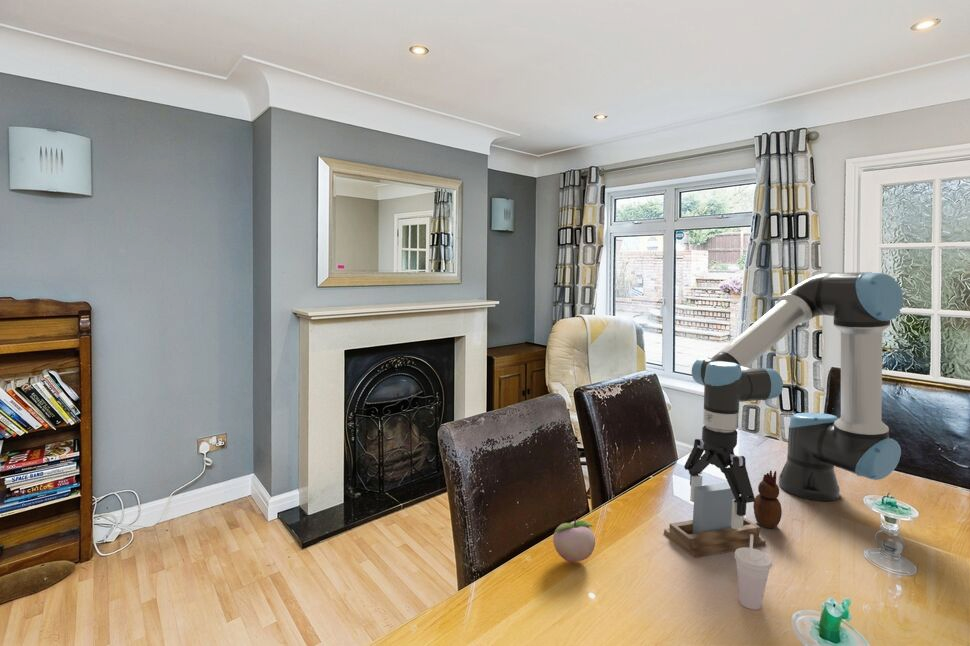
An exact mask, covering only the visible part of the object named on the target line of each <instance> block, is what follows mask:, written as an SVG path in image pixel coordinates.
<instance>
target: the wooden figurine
mask: <svg viewBox="0 0 970 646" xmlns="http://www.w3.org/2000/svg"><path fill="white" fill-rule="evenodd" d="M778 485H779V484H777V470H774V473H773V472H772V470H769V472H767V473H766V474H763V478H762V480H761V481H760V482H759V484H758V487H757V490H758V493H759V494H757V495H756V496H754V497H755V502H753V505H752V506H753V514H754V518H755V521H756V522H757V524H758V525H759V526H762V527H763V528H767V529H774V528H777V526H779V523H780V522H781V519H782V513H783V512H782V505H781V502H780V500H779V499H778V498H779V495H780V489H779V488H780V486H778Z"/></svg>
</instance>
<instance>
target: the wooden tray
mask: <svg viewBox="0 0 970 646" xmlns="http://www.w3.org/2000/svg"><path fill="white" fill-rule="evenodd" d="M760 529H761V527H760V525H757V524H756V523H754V522H753V521H751V520H750V519H748V518H746V517H744V520H743V527H742V528H736V529H733V528H726V529H720V530H714V531H708V532H703V533H697V534H692V530H693V519H690V520H683V521H676V522H673V523H672V522H671V523H669V527H668V528H664V529H663V533H664V534H665V536H668V538H669V539H671V540H673V542H674V543H676V544H677V545H678V546H680V547H681V548H682V549H684V551H685V552H687V553H688V554H689V555H691V556H692V557H693V558H700V557H707V556H711V555H716V554H722V553H723V554H724V553H729V552H734V551H736V549H738V548H743V547H747V548H749V547H750V534H753V535H754V536H753V548H754V547H755V548H756V547H760V546H764V545H765V546H766V543H767V539H764V538H762V537H761V536H760Z"/></svg>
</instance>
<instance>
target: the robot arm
mask: <svg viewBox="0 0 970 646" xmlns="http://www.w3.org/2000/svg"><path fill="white" fill-rule="evenodd" d="M903 305H904V294H903V289H902V288H901V285H900V284H899V282H898V281H897V280H895V278H894V277H893V276H891V275H889V274H886V273H884V272H883V273H879V272H871V271H869V272H868V271H866V272H861V271H859V272H825V273H821V274H816V275H813V276H811V277H809V278H807V279H805V280H803V281H801V282H800V283H798V284H795V285H794V286H793V287H791V288H790V289H788V290H787V291H785V293H783V294H782V295H781V296H779V298H778V299H777V304H775V305H774V306H773V307H772V308H770V310H768V311H767V312H766V313H765V314H764V315H762V316H760V318H758V319H757V320H756V321H755V322H754V323H753V324H751V325H750V326H749V327H747V328H746V330H744V331H743V332H742V333H740V334H739V335H738V336H736V337H735V338H734V339H733V340H732V341H730V342H729V343H728V344H727V345H726V346H725V347H723V348H722V349H721V350H719V351H718V352H717V353H716V354H715V355H714V356H712V357H711V358H710V357H701V358H698V359H696V360H695V361H694V363H693V364H692V367H691V376H692V379H693V381H695V383H697V384H699V385H701V386H703V390H704V393H703V415H702V424H703V426H702V430H701V432H702V433H701V438H695V439H694V443H693V447H692V449H691V452H690V454H689V456H688V458H687V460H686V462H685V464H684V467H683V468H684V470H687V471H688V474H689V475H690V477H689V486H690V497H689V498H690V500H689V501H690V502H692V503H694V490H695V487H698V486H703V475H701V474H703V471H704V470H705V469H706V468H708V466H709V465H713V466H715V467H716V468H718V469H719V470H720V472H721V473H723V475H724V477H725V479H726V481H727V482H728V484H729V486H730V488H731V490H732V493H733V495H734V497H735V500H732V516H731V528H733V529H736V528H742V527H743V520H744V518H745V517H744V516H746V514H747V504H748V503H754V502H755V497H756V496H755V495H754V490H753V487H752V484H751V480H750V478H749V477H750V476H749V474H748V469H747V466H746V462H747V461H746V457H745V456H744V455H740V456H739V455H736V454H735V448H736V447H737V445H738V432H739V431H738V430H737V429H738V428H739V413H740V403H744V402H754V401H755V402H756V401H767V400H771V399H776V398H778V397H779V396H780V395H781V393H782V391H783V387H784V381H783V378H782V376H781V374H780V373H779V372H778V371H777V370H775V369H774V368H770V367H769V368H768V367H767V368H764V367H760V368H754V367H753V368H752V367H749V366H752V364H753V363H754V362H755V361H756V360H757V359H759V358H760V357H761V356H763V355H764V354H765V353H766V352H767V351H769V350H770V349H771V348H772V347H773V346H774V345H775V344H777V343H778V342H779V341H781V339H783V338H784V337H785V336H786V335H787V334H789V333H790V332H791V331H793V330H794V329H795V328H796V327H798V325H799V324H806V323H808V322H809V321H811V320H812V319H813V318H815V317H819V316H831V317H833V326H834V327H836V329H838V330H839V331H840V417H837V415H834V414H829V413H821V412H799V413H794V414H792V415H791V416H790V419H789V425H788V434H787V435H788V436H787V437H788V438H787V458H786V462H785V464H784V466H783V467H782V470H781V473H780V474H779V476H778V485H779V486H778V487H779V488H781V489H782V490H784V491H785V492H787V493H790V494H792V495H794V496H797V497H799V498H803V499H808V500H812V501H813V500H814V501H820V502H823V501H824V502H831V501H836V500H838V499H840V492H841V491H840V486H839V483H838V480H837V475H836V472H835V468H839V469H842V470H843V471H847V472H848V473H849V472H850V473H853V474H855V475H856V476H857V477H863V478H867V479H869V480H873V481H874V480H875V481H879V480H882V479H885V478H886V477H888V476H889V475H891V474H892V473H893V471H894V470H895V469H896V468H897V466H898V464H899V462H900V458H901V456H902V455H901V454H902V449H901V445H900V444H899V442H898V441H897V440H895V439H893V438H891V437H890V429H889V426H888V425H886V423H884V421H882V406H883V405H882V402H883V401H882V400H883V397H882V396H883V394H882V393H883V332H884V331H885V330H887V329H888V328H889V327H890V326H891V321H892V320H894V319H897V317H898V316H899V315H900V314H901V310H902V309H903Z"/></svg>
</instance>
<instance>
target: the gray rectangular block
mask: <svg viewBox="0 0 970 646" xmlns="http://www.w3.org/2000/svg"><path fill="white" fill-rule="evenodd" d="M732 500H735V497H734V495H733V493H732V490H731V488H730V486H729V484H728V481H727V482H722V483H721V482H719V483H714V484H713V483H712V484H706V485H702V486H698V487H695V490H694V502H693V513H692V520H693V530H692V534H697V533H703V532H708V531H714V530H720V529H726V528H731V516H732Z"/></svg>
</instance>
